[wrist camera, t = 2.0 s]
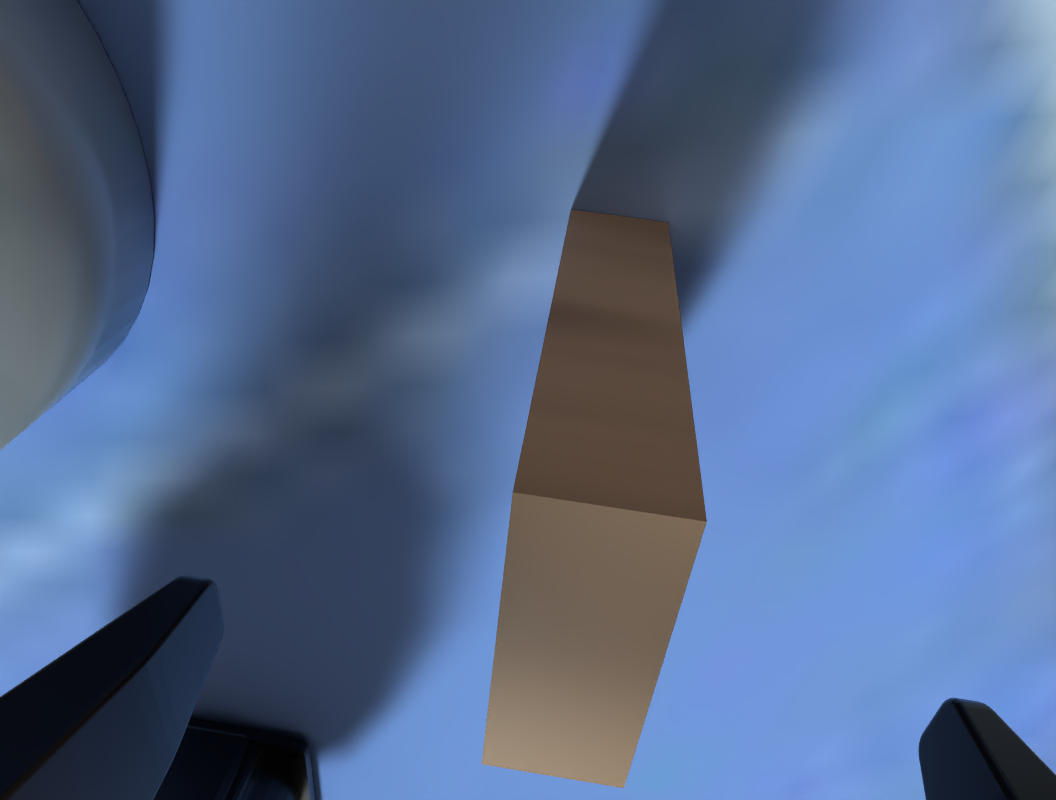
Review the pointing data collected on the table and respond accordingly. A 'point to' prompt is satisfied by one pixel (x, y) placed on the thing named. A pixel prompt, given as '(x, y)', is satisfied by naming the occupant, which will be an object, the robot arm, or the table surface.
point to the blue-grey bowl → (64, 208)
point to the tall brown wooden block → (597, 512)
